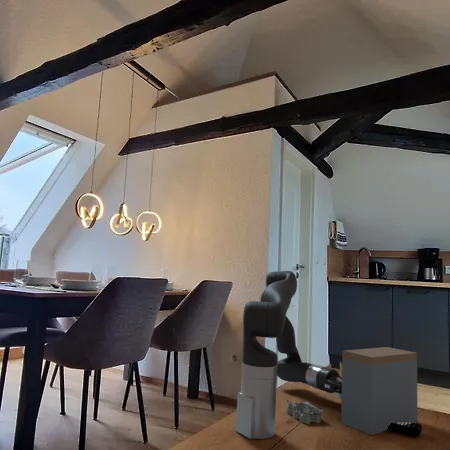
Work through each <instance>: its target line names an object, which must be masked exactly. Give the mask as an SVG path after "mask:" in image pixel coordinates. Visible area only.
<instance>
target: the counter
mask: <svg viewBox="0 0 450 450" xmlns="http://www.w3.org/2000/svg"><path fill="white" fill-rule="evenodd" d="M341 358H342V361H341V363H342V398H341V404H340V406H341V408H340V409H341V413H340V414H341V416H340V417H341V418H340V423H341V424H343V425H345V426H348V427H351V428H353V429H356V430H357V431H361V432H363V433H365V434H368V435H370V436H374V435H377V434H381V433H384V432H383V431H385V430H387V429H388V426H389V425H390V424H391V423H394V422H412V423H414V424H416V423H418V352H415V351H409V350H405V349H399V348H393V347H390V346H389V347H388V346H383V347H372V348H371V347H369V348H360V349H346V350H342V357H341ZM385 432H386V431H385Z"/></svg>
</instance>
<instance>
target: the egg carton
mask: <svg viewBox="0 0 450 450" xmlns="http://www.w3.org/2000/svg"><path fill="white" fill-rule="evenodd" d="M285 402H287V403H288V405H287V406H286V414H287V415H289V416H292V418H293V419H295V420H299V421H298V422H299V423H301V424H306V425H311V422H312V423H317V424H319V423H321V421H322V412H323V411H324V409H321V408H318V407H317V406H315V405H313V404H311V403H310V402H309V401H304V402H301V401H300V402H299V403H297V401H295V403H294V404H292V401H291V400H290V401H289V400H288V399H285Z"/></svg>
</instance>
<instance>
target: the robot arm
mask: <svg viewBox="0 0 450 450" xmlns="http://www.w3.org/2000/svg"><path fill="white" fill-rule="evenodd" d="M265 286H266V287H265V288H264V290H263V291H262V293H261V294H260V299H259V300H260V301H258V300H257V301H255V300H250V301H247V302H246V303H245V306H244V307H243V316H242V324H243V325H242V332H243V334H242V337H243V339H242V342H243V343H242V359H241V360H242V362H241V363H242V364H241V365H242V367H241V380H240V381H241V382H240V391H238V393H237V397H236V398H237V399H236V402H237V403H236V419H235V432H237V433H239V434H240V435H242V436H244V437H246V438H248V439H249V440H252V439H257V440H263V439H264V440H265V439H270V438H273V437H274V436H275V434H276V433H275V429H276V427H275V426H276V409H277V408H276V407H277V383H278V381H277V380H278V379H280V380H282V381H284V382H292V383H302V384H305V385H308V386H311V387H312V388H315V389H317V390H320V391H323V392H326V393H329V394H334V393H336V394H338V393H339V394H342V377H340V376H341V375H340V373H339V371H338V370H336V369H333V368H329V367H325V366H323V365H320V364H319V365H318V364H317V365H316V364H313V363H309V362H304V361H303V362H302V359H301V356H300V354H299V351H298V350H299V349H298V347H297V344H296V343H297V341H296V334H295V332H296V331H295V328H294V326H293V324H292V323H293V322H291V320H290V319H289V318H288V316H287V313H288V310H289V308H290V306H291V302H292V298H293V297H294V296H295V295H296V293H297V289H298V280H297V276H296V275H295V273H294V272H293V271H291V270H279V271H269V272H268V273H266V276H265ZM257 338H267V339H268V338H269V339H276V340H275V341H276V349H277V351H278V352H279V353H280V354H282V355H283V354H285V355H286V357H285V358H283V359H280V360H278V354H277V352H275V351H273V350H271V349H269V348H267V347H265V346H264V345H262V344H261V343H260V342H259V340H258V339H257Z"/></svg>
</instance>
